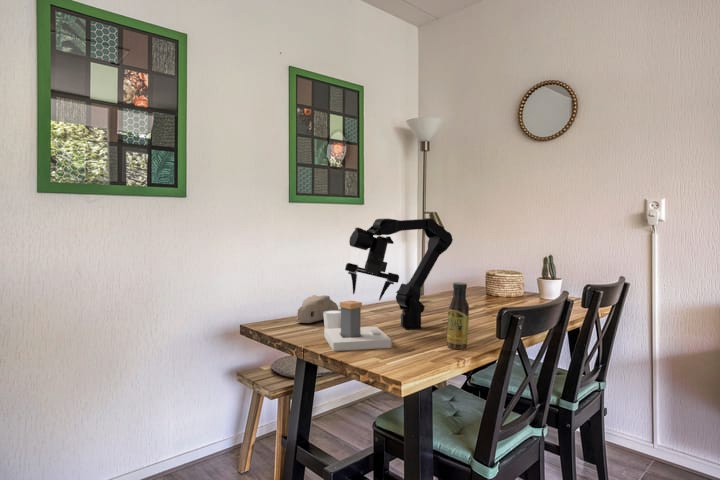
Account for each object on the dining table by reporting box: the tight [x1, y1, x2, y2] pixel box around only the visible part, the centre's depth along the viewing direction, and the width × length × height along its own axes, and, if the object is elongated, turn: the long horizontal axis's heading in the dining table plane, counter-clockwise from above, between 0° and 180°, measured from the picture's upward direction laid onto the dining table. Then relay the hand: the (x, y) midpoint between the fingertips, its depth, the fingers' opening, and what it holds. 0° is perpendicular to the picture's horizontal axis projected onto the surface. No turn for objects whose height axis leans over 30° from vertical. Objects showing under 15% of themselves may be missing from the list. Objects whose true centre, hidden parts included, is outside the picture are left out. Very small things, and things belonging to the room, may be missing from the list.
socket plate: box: [323, 326, 392, 352], centre depth 144 cm, size 18×18×3 cm
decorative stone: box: [295, 294, 339, 324], centre depth 175 cm, size 20×8×10 cm, turn 142°
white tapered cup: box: [323, 310, 341, 329], centre depth 158 cm, size 7×7×7 cm
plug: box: [339, 300, 363, 338], centre depth 143 cm, size 5×5×12 cm
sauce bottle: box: [446, 281, 470, 350], centre depth 138 cm, size 7×6×20 cm
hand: (366, 297), depth 156 cm, fingers open, 9 cm apart
